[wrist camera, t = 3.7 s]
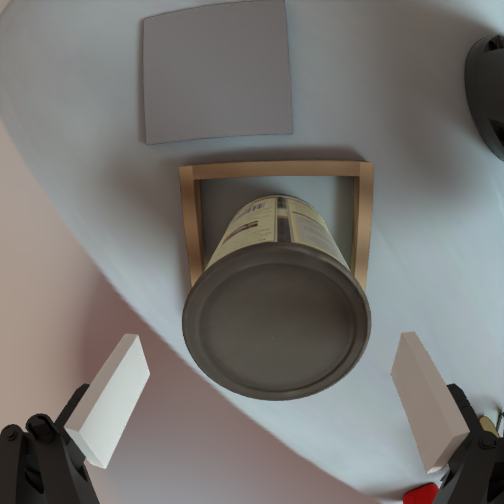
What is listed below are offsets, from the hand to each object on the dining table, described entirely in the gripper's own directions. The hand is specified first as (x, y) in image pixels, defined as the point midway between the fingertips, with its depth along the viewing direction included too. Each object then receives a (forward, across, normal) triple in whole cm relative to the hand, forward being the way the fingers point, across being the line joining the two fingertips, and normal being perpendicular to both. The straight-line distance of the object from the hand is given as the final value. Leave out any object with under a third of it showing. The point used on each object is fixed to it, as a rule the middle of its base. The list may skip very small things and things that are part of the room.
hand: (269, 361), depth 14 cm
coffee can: (+16, 0, 0) cm, 16 cm away
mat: (+16, -4, +17) cm, 24 cm away
